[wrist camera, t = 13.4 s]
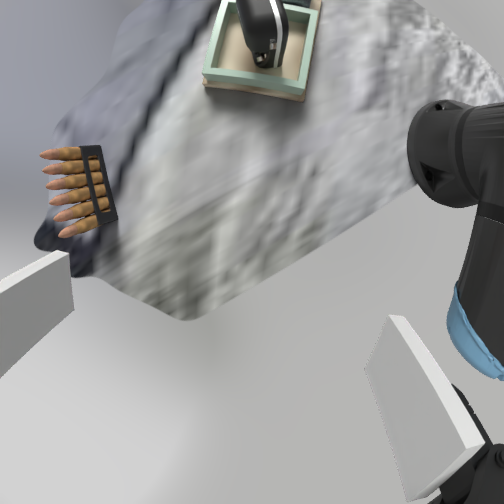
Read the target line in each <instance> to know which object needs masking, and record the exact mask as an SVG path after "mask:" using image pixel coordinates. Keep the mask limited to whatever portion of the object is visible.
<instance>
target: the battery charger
mask: <svg viewBox="0 0 504 504" xmlns="http://www.w3.org/2000/svg"><path fill="white" fill-rule="evenodd" d="M236 8H237V13H238V17H239V21H240V24H241V28H242V32H243V36H244V40H245V43H246V46H247V47H248V48H249V50H250V51H251V52H252V56H253V60H254V63H255V65H256V66H257V67H259V68H277V67H280V66H282V63H283V57H284V53H285V50H286V46H287V41H288V35H289V22H288V17H287V14H286V11H285V8H284V5H283V2H282V0H236Z"/></svg>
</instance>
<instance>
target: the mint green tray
mask: <svg viewBox="0 0 504 504" xmlns="http://www.w3.org/2000/svg"><path fill="white" fill-rule="evenodd" d="M282 2H283V5H284V8H285V11H286V14H287V17H288V22H289V35H288V41H287V46H286V50H285V53H284V57H283V63H282V66H280V67H277V68H259V67H257V66H256V65H255V63H254V60H253V56H252V52H251V51H250V50H249V48H248V47H247V46H246V43H245V40H244V36H243V32H242V28H241V24H240V21H239V17H238V13H237V8H236V0H222V2H221V5H220V8H219V11H218V15H217V18H216V21H215V25H214V28H213V32H212V35H211V39H210V43H209V46H208V50H207V54H206V58H205V62H204V66H203V70H202V74H203V76H204V79H203V83H202V84H203V85H204V86H205V87H213V88H222V89H230V90H238V91H245V92H251V93H257V94H263V95H269V96H274V97H279V98H284V99H289V100H294V101H298V102H303V101H304V98H305V92H306V87H307V82H308V76H309V70H310V65H311V59H312V53H313V48H314V42H315V36H316V30H317V24H318V18H319V12H320V6H321V0H282Z"/></svg>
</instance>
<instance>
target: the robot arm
mask: <svg viewBox="0 0 504 504" xmlns="http://www.w3.org/2000/svg"><path fill="white" fill-rule="evenodd" d="M407 149H408V158H409V163H410V167H411V170H412V173H413V175H414V177H415V179H416V181H417V183H418V185H419V186H420V188H421V189H422V190H423V192H424V193H425V194H426V195H427V196H428V197H429V198H431V199H432V200H434V201H435V202H437V203H439V204H442V205H446V206H449V207H452V208H464V207H468V206H472V205H476V204H478V207H477V212H476V216H475V221H474V225H473V230H472V234H471V238H470V242H469V246H468V250H467V253H466V257H465V261H464V264H463V267H462V270H461V274H460V277H459V280H458V281H457V282H456V284H455V287H454V295H453V298H452V301H451V305H450V308H449V311H448V314H447V329H448V332H449V334H450V338H451V340H452V342H453V344H454V346H455V347H456V349H457V350H458V352H459V353H460V354H461V355H462V356H463V357H464V359H465V360H466V361H467V362H468V363H470V364H471V365H472V366H473V367H474V368H475V369H477V370H478V371H479V372H481V373H482V374H484V375H486V376H488V377H490V378H493V379H495V378H498V379H499V380H500V381H504V102H501V103H494V104H488V105H482V106H477V107H474V106H471V105H468V104H465V103H461V102H458V101H454V100H439V101H435V102H432V103H429V104H427V105H425V106H424V107H422V108H421V109H420V110H419V111H418V112H417V114H416V115H415V117H414V118H413V120H412V123H411V125H410V129H409V133H408V141H407ZM482 216H483V217H482ZM485 217H486V218H485ZM488 218H489V219H488ZM491 219H492V220H491ZM493 220H494V221H493ZM496 221H497V222H496ZM499 222H500V223H499ZM502 223H503V224H502ZM72 311H74V304H73V295H72V287H71V276H70V262H69V253H65V252H61V251H58V250H56V251H54V252H52V253H50V254H48V255H47V256H44V257H43V258H41V259H39V260H37V261H35V262H33V263H31V264H29V265H28V266H26V267H24V268H22V269H20V270H18V271H16V272H15V273H13V274H11V275H9V276H8V277H6V278H4V279H2V280H1V281H0V378H1V377H2V376H3V375H4V374H5V373H6V372H7V371H8V370H9V369H10V368H11V367H12V366H13V365H14V364H15V363H16V362H17V361H18V360H19V359H20V358H21V357H22V356H24V355H25V354H26V353H27V352H28V351H29V350H30V349H31V348H32V347H33V346H34V345H35V344H36V343H37V342H39V341H40V340H41V339H42V338H43V337H44V336H45V335H46V334H47V333H48V332H49V331H51V330H52V329H53V328H54V327H55V326H56V325H57V324H59V323H60V322H61V321H62V320H63V319H64V318H65V317H67V316H68V315H69V314H70V313H71V312H72ZM365 372H366V375H367V378H368V380H369V383H370V386H371V389H372V391H373V394H374V397H375V400H376V403H377V405H378V408H379V411H380V414H381V417H382V420H383V423H384V426H385V429H386V432H387V435H388V438H389V442H390V445H391V448H392V451H393V454H394V458H395V461H396V464H397V468H398V471H399V475H400V478H401V482H402V485H403V489H404V493H405V497H406V500H407V502H409V501H413V500H417V499H421V498H425V497H427V496H429V495H430V494H431V493H433V492H434V491H435V490H436V489H437V488H440V491H441V494H440V495H439V496H437V497H436V498H435V499H433V500H432V501H431V502H429V503H428V504H504V444H495V445H493V444H492V442H491V440H490V438H489V436H488V435H487V433H486V431H485V430H484V428H483V426H482V424H481V422H480V421H479V419H478V417H477V416H476V414H474V411H473V409H472V408H471V406H470V405H468V404H469V403H468V401H467V399H466V398H465V396H464V395H463V393H462V392H461V391H460V390H459V389H457V388H456V387H455V386H454V385H453V384H450V382H449V381H448V379H447V378H446V376H445V374H444V373H443V372H442V370H441V368H440V367H439V365H438V364H437V362H436V361H435V359H434V358H433V356H432V355H431V354H430V352H429V351H428V349H427V348H426V346H425V345H424V343H423V342H422V341H421V339H420V338H419V336H418V335H417V334H416V332H415V331H414V329H413V328H412V327H411V325H410V324H409V323H408V321H407V320H406V319H405V317H404V316H397V315H388V316H387V318H386V321H385V323H384V326H383V328H382V331H381V333H380V336H379V338H378V340H377V342H376V345H375V347H374V349H373V351H372V354H371V356H370V358H369V360H368V362H367V364H366V367H365Z"/></svg>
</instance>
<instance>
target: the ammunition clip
mask: <svg viewBox="0 0 504 504" xmlns="http://www.w3.org/2000/svg"><path fill="white" fill-rule="evenodd" d="M40 157H42V158H44V159H49V160H62V161H66V162H63V163H58V164H53V165H49V166H47V167H45V168H44V169H43V172H44V173H46V174H50V175H56V174H64V175H69V176H67V177H64V178H61V179H56V180H53V181H51V182H49V183H48V184H47V185H46V188H47V189H50V190H60V189H74V188H78V189H74V190H71V191H69V192H67V193H64V194H60V195H58V196H56V197H54V198H53V199H51V200H50V202H49V204H51V205H56V206H58V205H64V204H74V203H79V202H81V203H80V204H76V205H74V206H73V207H71V208H68V209H66V210H64V211H62V212H60V213H59V214H57V215H56V216H55V217H54V221H57V222H62V221H67V220H71V219H77V218H81V217H84V216H85V218H82V219H80V220H78V221H77V222H75V223H74V224H72V225H70V226H68V227H66V228H64V229H63V230H62V231H61V232H60V233H59V235H58V237H60V238H67V237H71V236H73V235H77V234H80V233H85V232H87V231H89V230H91V229H94V228H96V227H98V226H100V225H103V224H105V223H108V222H111V221H115V220H118V215H117V212H116V208H115V204H114V201H113V197H112V193H111V189H110V185H109V181H108V176H107V172H106V168H105V163H104V158H103V154H102V149H101V146H100V145H90V146H79V147H63V148H59V149H51V150H47V151H44V152H42V153H41V154H40ZM80 173H83V174H80ZM71 174H75V175H71ZM85 186H88V187H85ZM90 199H92V200H90ZM86 200H90V201H86ZM93 213H95V214H93ZM90 214H93V215H90Z"/></svg>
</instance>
